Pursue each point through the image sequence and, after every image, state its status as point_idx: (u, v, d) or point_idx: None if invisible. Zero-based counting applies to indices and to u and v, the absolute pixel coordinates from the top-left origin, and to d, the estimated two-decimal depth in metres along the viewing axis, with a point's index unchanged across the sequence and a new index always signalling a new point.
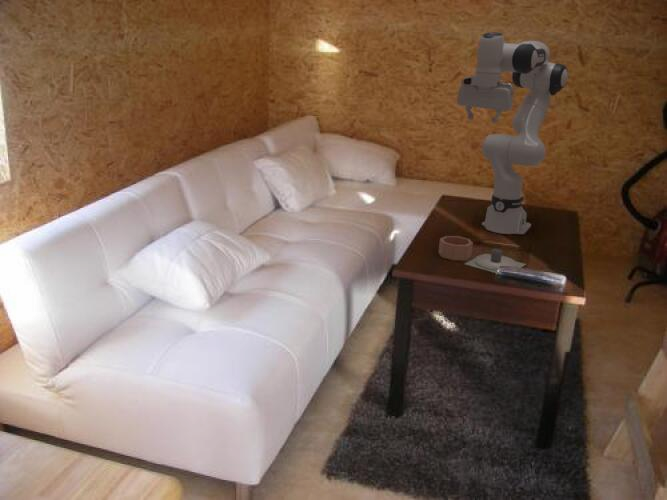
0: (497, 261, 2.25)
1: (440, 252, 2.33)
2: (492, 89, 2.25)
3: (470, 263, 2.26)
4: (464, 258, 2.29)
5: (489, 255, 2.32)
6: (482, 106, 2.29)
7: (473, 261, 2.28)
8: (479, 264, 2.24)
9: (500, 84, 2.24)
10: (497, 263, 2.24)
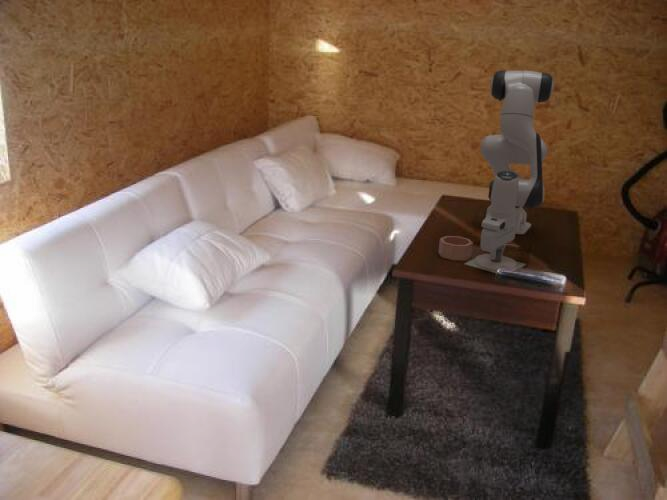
0: (497, 261, 2.25)
1: (440, 252, 2.33)
2: None
3: (470, 263, 2.26)
4: (464, 258, 2.29)
5: (489, 255, 2.32)
6: (503, 244, 2.23)
7: (473, 261, 2.28)
8: (479, 264, 2.24)
9: None
10: (497, 263, 2.24)
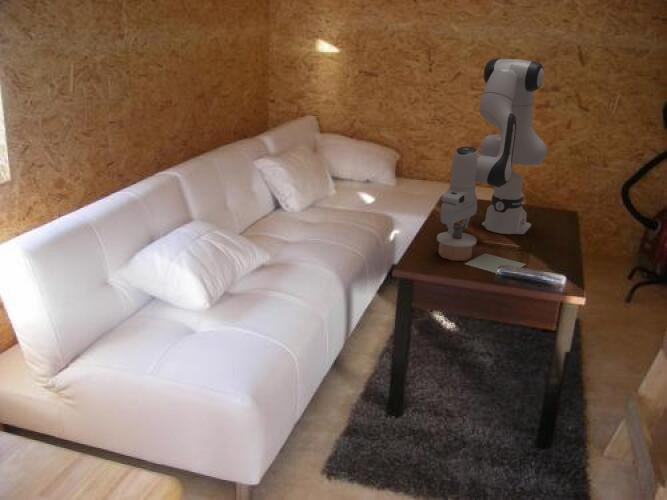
0: (458, 238, 2.30)
1: (440, 252, 2.33)
2: None
3: (470, 263, 2.26)
4: (464, 258, 2.29)
5: None
6: (463, 218, 2.29)
7: (473, 261, 2.28)
8: (440, 240, 2.29)
9: None
10: (457, 239, 2.30)
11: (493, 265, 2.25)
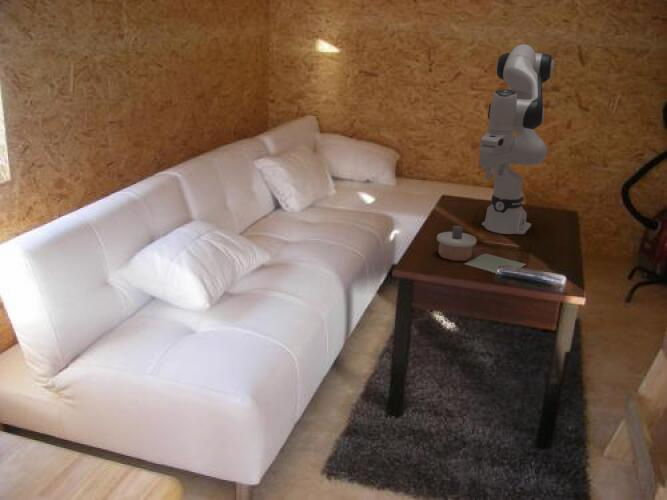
0: (458, 238, 2.30)
1: (440, 252, 2.33)
2: (507, 144, 2.26)
3: (470, 263, 2.26)
4: (464, 258, 2.29)
5: (451, 232, 2.37)
6: (501, 163, 2.26)
7: (473, 261, 2.28)
8: (440, 240, 2.29)
9: None
10: (457, 239, 2.30)
11: (493, 265, 2.25)
